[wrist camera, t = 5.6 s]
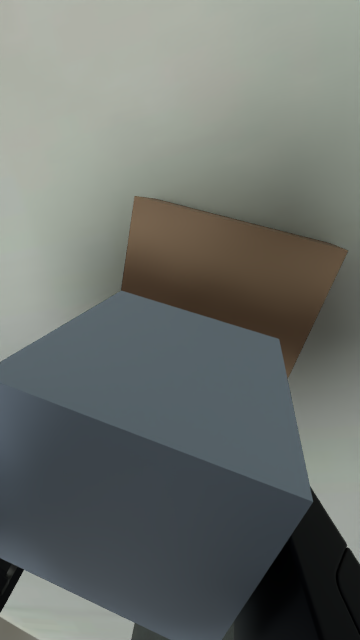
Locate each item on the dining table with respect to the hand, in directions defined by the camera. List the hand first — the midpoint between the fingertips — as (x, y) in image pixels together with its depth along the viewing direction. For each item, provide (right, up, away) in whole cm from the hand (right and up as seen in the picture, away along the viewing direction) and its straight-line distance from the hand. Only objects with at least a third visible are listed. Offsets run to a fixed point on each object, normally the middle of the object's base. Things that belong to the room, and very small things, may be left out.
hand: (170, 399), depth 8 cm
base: (+2, +4, +9) cm, 10 cm away
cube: (0, 0, +1) cm, 1 cm away
